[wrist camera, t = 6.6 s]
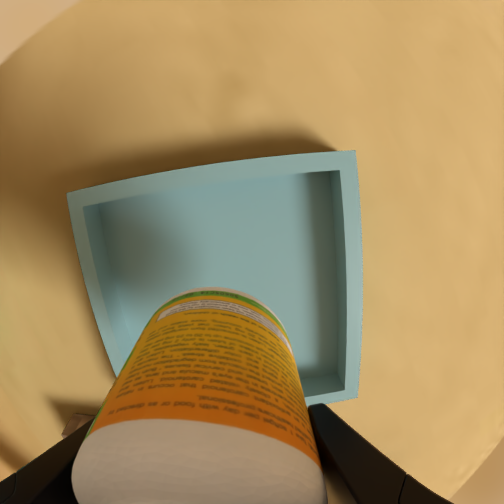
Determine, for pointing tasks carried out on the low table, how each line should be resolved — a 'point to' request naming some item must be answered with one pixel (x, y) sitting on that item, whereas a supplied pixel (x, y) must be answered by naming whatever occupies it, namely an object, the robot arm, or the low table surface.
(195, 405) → the supplement bottle
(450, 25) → the low table surface
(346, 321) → the tray
